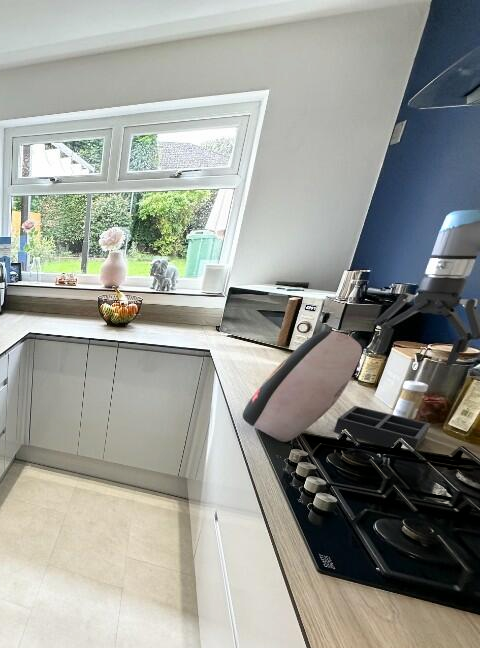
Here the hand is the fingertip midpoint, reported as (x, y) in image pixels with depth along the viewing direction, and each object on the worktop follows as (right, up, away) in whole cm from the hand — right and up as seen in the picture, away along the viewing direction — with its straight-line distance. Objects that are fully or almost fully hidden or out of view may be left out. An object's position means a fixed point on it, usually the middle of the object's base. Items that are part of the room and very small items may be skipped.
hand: (414, 357), depth 107 cm
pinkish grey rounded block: (-32, -21, +4) cm, 39 cm away
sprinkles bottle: (+5, -20, +8) cm, 22 cm away
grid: (-7, -22, +3) cm, 23 cm away
